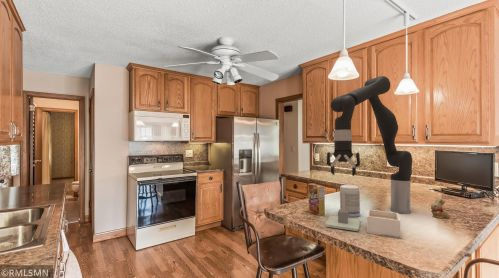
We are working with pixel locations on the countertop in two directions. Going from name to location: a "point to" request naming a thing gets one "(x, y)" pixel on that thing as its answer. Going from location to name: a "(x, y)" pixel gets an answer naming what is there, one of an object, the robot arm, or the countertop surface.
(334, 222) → the lid
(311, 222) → the countertop surface
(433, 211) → the chocolate bunny
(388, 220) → the storage box
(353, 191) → the supplement tub
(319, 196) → the candy box
